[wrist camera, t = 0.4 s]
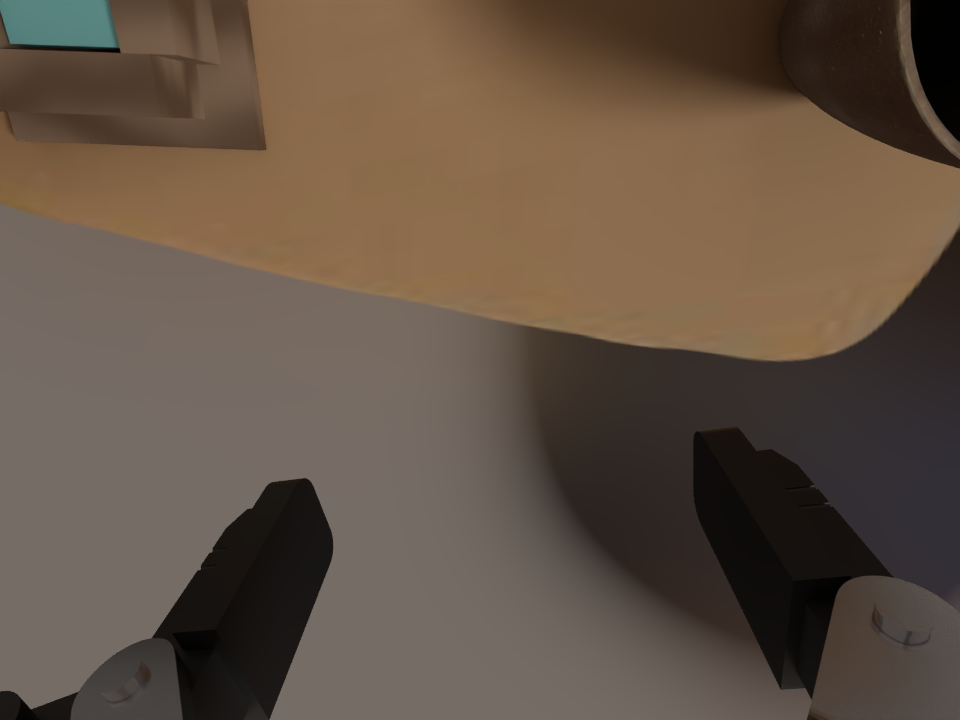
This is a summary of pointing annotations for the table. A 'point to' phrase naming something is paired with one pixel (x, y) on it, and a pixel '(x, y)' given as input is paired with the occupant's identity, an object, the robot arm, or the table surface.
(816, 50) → the plant pot
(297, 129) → the table surface
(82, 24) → the teal square tile
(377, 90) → the table surface
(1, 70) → the socket block
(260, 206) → the table surface
